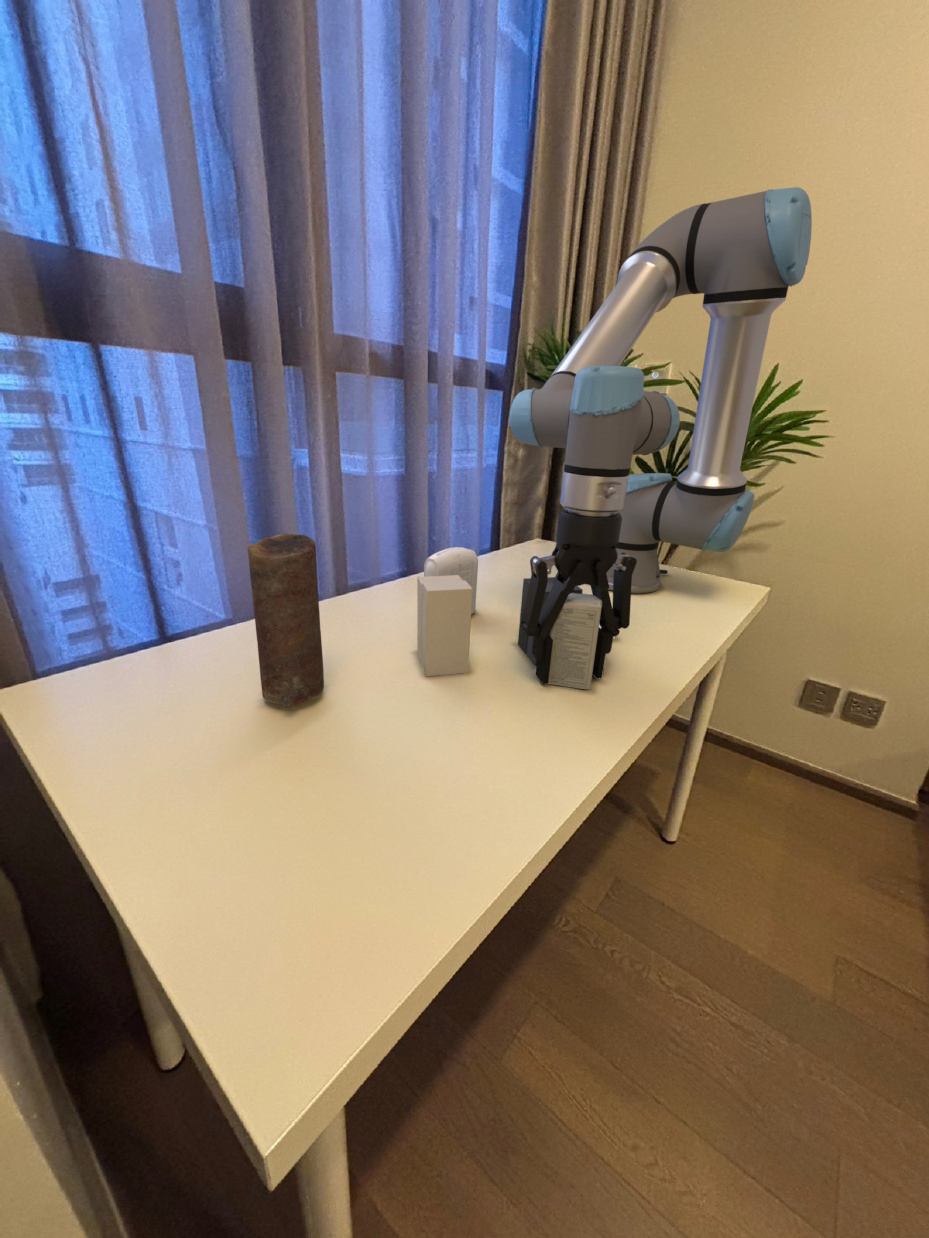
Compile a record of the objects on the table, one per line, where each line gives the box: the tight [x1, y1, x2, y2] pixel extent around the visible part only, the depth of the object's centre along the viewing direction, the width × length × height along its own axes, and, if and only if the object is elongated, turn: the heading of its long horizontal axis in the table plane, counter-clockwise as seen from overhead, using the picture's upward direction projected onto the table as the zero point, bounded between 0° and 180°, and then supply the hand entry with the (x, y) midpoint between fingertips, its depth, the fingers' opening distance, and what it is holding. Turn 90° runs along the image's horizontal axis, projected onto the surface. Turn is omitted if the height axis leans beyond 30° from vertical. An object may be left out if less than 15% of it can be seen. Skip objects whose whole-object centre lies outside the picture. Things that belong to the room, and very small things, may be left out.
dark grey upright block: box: [517, 576, 584, 667], centre depth 75 cm, size 6×7×12 cm
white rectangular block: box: [416, 575, 472, 677], centre depth 71 cm, size 6×7×12 cm
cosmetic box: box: [547, 593, 602, 691], centre depth 67 cm, size 6×4×12 cm
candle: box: [247, 533, 325, 708], centre depth 59 cm, size 8×7×20 cm
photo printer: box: [423, 546, 479, 615], centre depth 86 cm, size 10×4×12 cm, turn 134°
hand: (568, 676), depth 70 cm, fingers closed on cosmetic box, 7 cm apart
